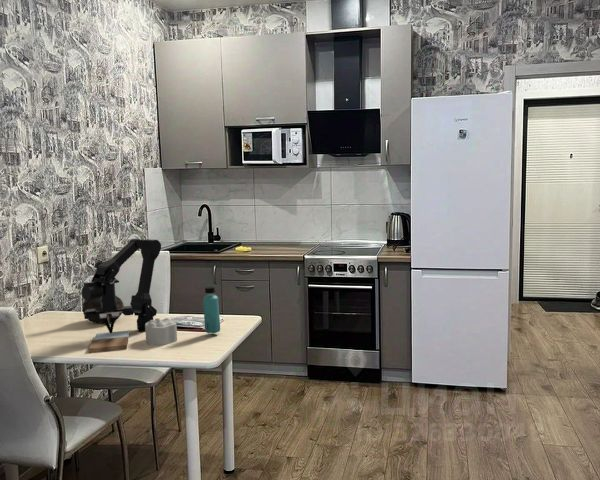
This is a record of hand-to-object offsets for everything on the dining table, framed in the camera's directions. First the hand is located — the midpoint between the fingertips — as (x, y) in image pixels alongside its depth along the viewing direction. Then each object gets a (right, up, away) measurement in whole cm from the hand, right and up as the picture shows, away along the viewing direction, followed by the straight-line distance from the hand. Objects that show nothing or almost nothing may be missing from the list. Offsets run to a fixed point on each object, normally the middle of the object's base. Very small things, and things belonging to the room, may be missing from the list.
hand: (110, 332), depth 236 cm
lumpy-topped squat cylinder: (+21, -3, -3) cm, 21 cm away
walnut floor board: (+2, -4, -8) cm, 9 cm away
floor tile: (-1, -3, +3) cm, 4 cm away
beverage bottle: (+41, -1, +3) cm, 41 cm away
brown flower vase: (-13, 0, +32) cm, 35 cm away
